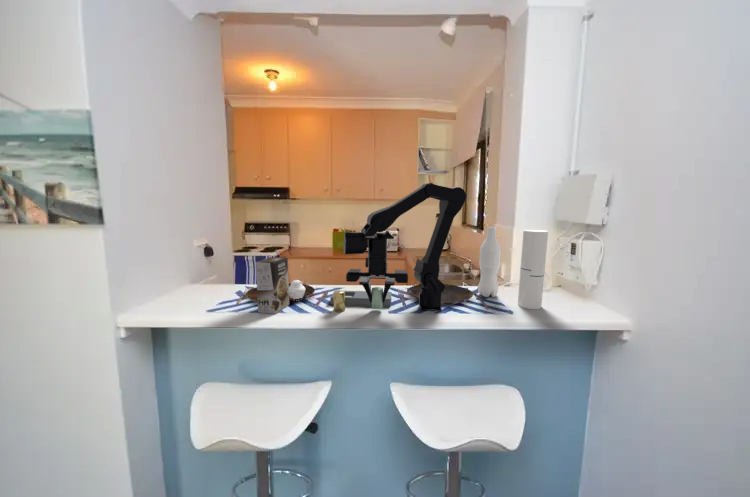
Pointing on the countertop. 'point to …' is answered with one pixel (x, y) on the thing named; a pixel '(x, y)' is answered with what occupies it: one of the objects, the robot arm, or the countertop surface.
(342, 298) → the brass plug
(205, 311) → the countertop surface
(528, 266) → the cylindrical container
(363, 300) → the panel
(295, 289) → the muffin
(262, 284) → the coffee box
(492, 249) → the water bottle
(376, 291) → the sage plug
